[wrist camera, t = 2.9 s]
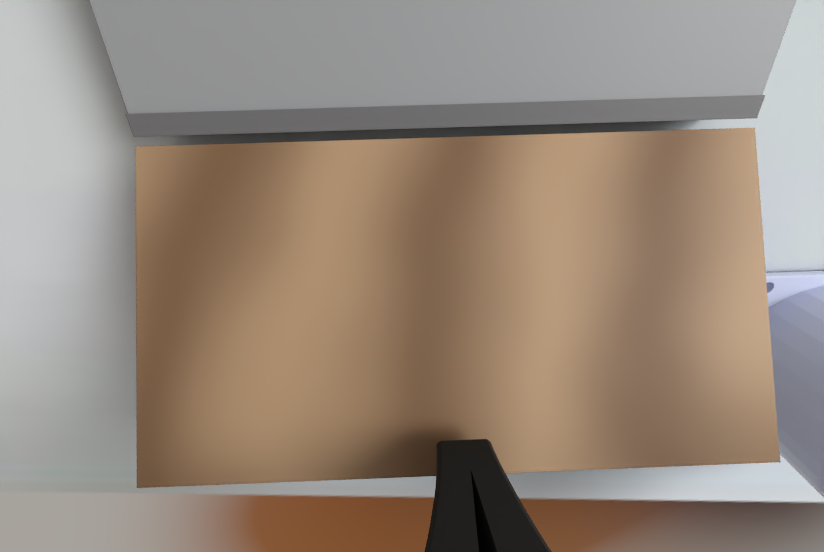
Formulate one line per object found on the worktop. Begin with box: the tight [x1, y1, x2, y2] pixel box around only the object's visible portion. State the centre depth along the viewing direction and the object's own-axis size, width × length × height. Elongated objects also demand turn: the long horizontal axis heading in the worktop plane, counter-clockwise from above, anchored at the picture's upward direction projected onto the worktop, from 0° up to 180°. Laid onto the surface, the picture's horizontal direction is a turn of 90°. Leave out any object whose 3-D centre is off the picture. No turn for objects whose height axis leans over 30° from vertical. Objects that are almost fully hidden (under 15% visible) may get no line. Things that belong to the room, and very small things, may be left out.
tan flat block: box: [136, 128, 780, 488], centre depth 12 cm, size 18×10×2 cm
